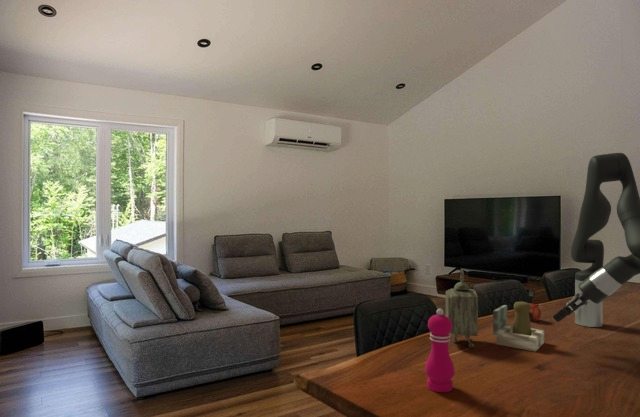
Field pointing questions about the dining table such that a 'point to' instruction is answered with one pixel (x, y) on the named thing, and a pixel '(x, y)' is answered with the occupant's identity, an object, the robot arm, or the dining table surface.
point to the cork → (522, 319)
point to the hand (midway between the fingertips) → (558, 316)
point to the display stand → (514, 339)
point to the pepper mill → (439, 354)
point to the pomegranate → (534, 312)
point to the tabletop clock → (462, 310)
